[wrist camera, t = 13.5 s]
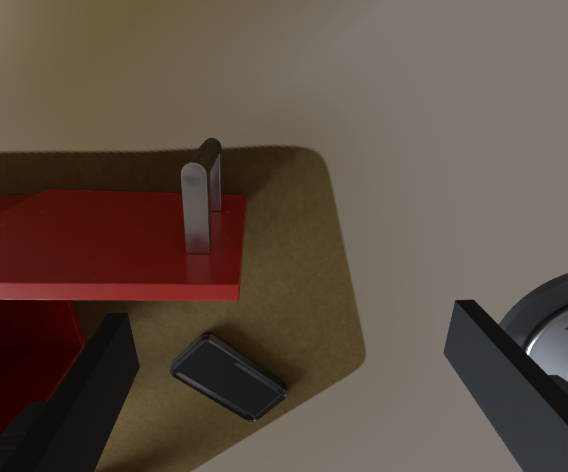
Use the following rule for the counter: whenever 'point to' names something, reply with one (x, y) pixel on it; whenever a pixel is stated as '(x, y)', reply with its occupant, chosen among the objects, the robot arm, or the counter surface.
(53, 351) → the cabinet
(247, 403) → the phone
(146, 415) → the counter surface
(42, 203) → the red cabinet door
